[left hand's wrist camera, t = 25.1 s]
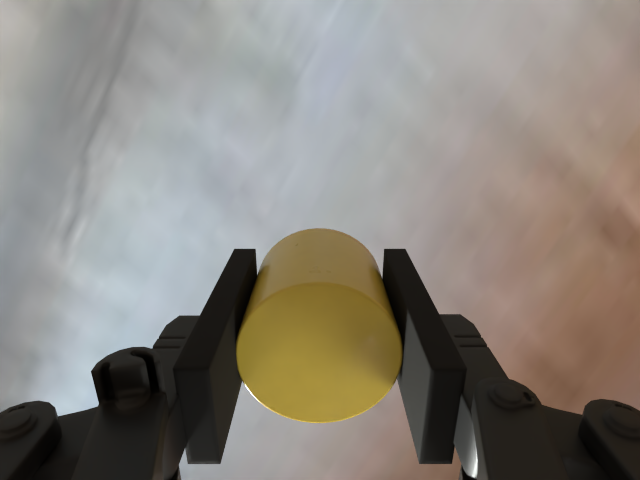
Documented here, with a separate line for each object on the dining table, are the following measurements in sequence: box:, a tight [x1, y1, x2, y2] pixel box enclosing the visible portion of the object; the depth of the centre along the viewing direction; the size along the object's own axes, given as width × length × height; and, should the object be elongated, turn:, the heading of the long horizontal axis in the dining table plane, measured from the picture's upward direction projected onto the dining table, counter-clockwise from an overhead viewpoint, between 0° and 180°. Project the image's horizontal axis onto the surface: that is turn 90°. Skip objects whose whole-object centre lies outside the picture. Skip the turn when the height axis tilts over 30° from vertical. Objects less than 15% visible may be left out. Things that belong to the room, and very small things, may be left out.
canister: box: [236, 228, 403, 423], centre depth 13 cm, size 5×5×4 cm
